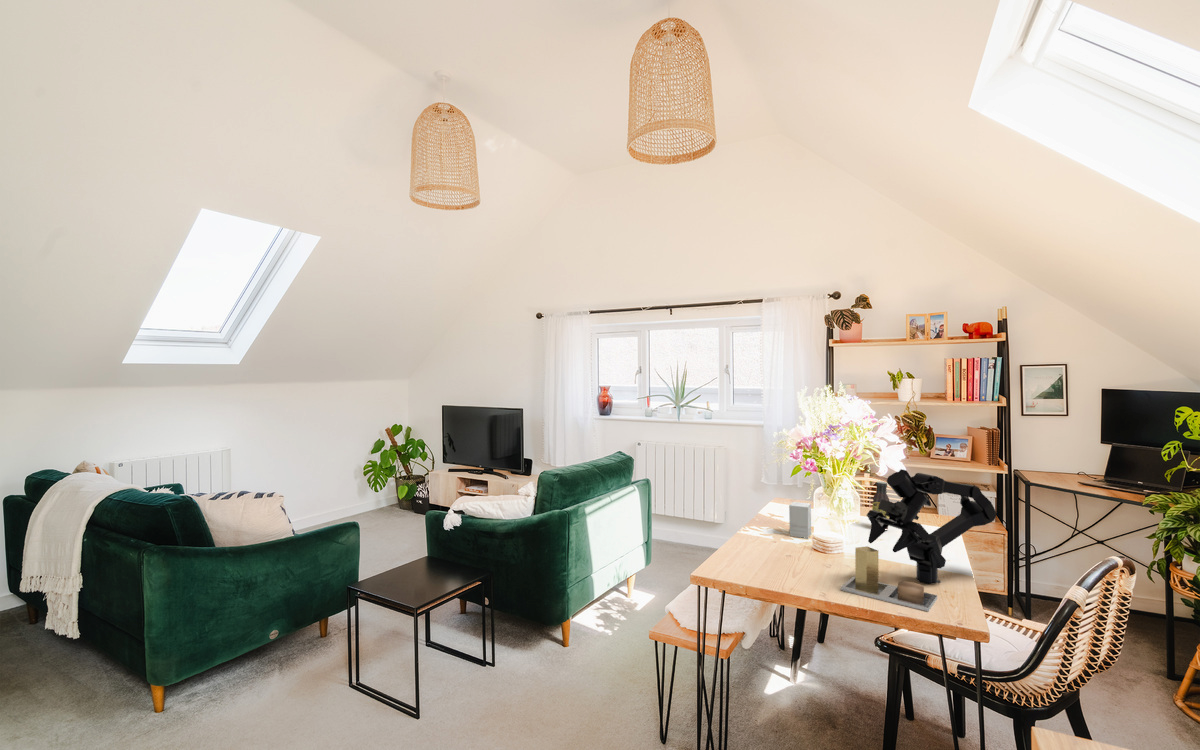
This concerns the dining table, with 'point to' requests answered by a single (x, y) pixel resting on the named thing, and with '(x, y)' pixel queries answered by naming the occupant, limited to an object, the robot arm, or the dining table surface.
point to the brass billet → (866, 569)
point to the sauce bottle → (880, 497)
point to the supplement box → (800, 519)
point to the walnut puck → (911, 592)
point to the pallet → (889, 595)
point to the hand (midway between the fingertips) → (881, 546)
